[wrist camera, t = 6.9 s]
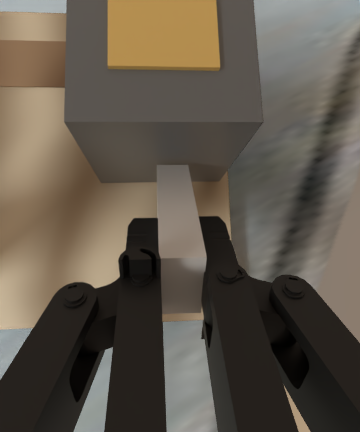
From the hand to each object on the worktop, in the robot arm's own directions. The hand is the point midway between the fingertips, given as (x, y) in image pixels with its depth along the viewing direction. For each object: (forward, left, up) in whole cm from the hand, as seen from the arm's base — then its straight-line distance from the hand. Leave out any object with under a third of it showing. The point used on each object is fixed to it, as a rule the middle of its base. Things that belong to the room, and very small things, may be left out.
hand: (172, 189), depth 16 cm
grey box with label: (0, +4, -3) cm, 5 cm away
